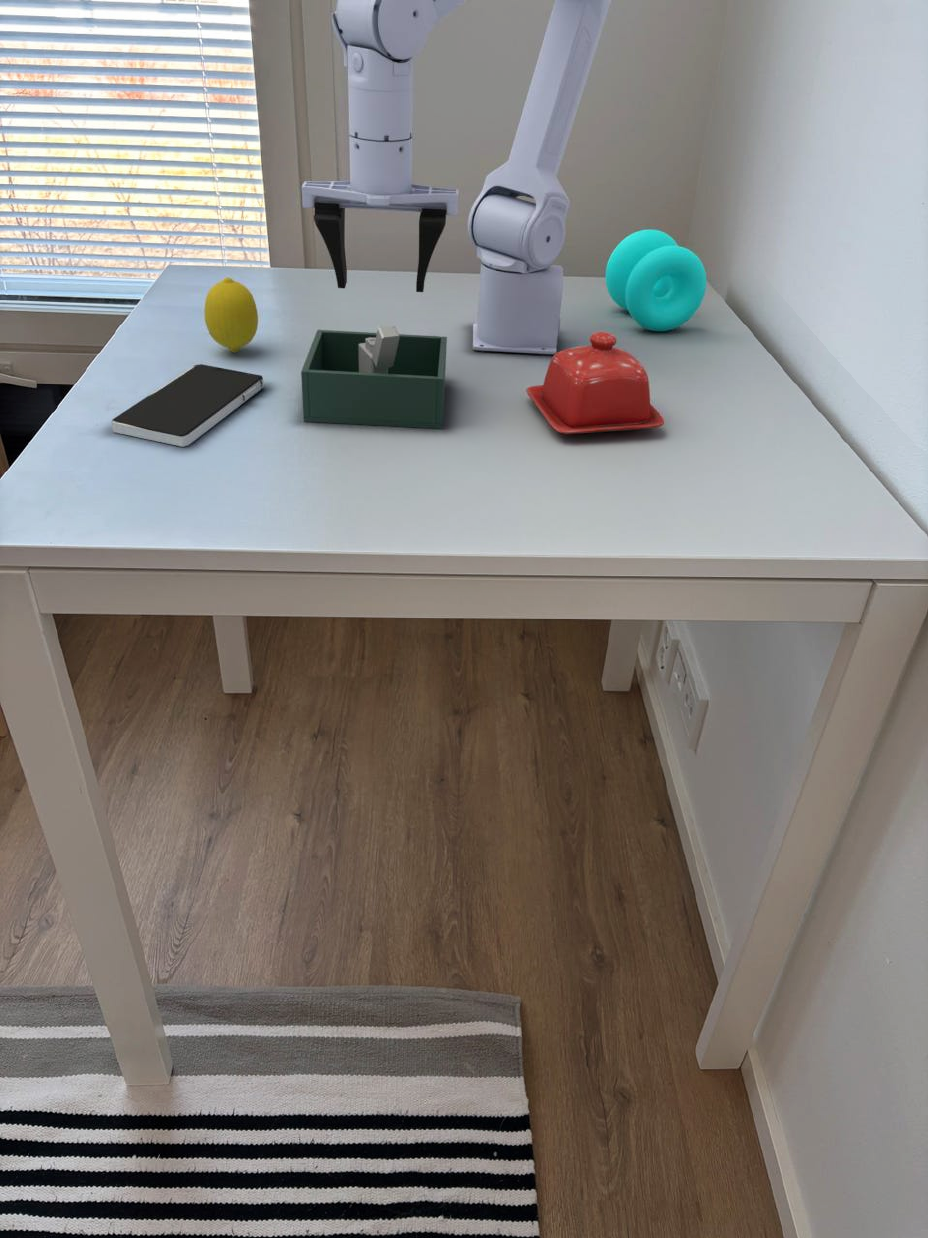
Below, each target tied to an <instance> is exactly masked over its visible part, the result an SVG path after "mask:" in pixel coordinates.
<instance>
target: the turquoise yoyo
mask: <svg viewBox="0 0 928 1238" xmlns="http://www.w3.org/2000/svg"><path fill="white" fill-rule="evenodd" d="M605 286H606V289H607V292H608V294H609V296H610V298H611V299H612V300H613V302H614V303H616V305H617V306H619V307H620V308H622V309H623V310H626V311H628V313H629V315H630V317H631V318H632V319H633V321H634V322H635V323H636V324H638V325H639V326H640V327H642V328H644V329H645V330H649V331H653V332H666V331H671V330H675V329H676V328H678V327H680V326H682V325H683V324H685V323H686V322H687V321H689V320H690V319H691V318H693V316H694V315H695V314H696V313H697V312H698V309H699V308H700V306H701V305H702V302H703V300H704V297H705V295H706V290H707V273H706V270H705V266H704V264H703V262H702V261H701V259H700V258H699V256H698V255H697V254H696V253H694V252H693V251H692V250H690V249H688V248H686V247H683V246H680V245H678V243H677V242H676V240H675V239H674V238H673V237H672V236H670V235H669V234H668V233H666V232H664V231H662V230H659V229H642V230H638V231H636V232H633V233H631V234H629V235H628V236H626V237H624V238H623V239H622V240H621V241H620V242H619V243H618V244H617V245H616V247H615V248H614V249H613V251H612V252H611V254H610V257H609V259H608V261H607V264H606V267H605Z"/></svg>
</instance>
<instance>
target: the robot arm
mask: <svg viewBox="0 0 928 1238" xmlns="http://www.w3.org/2000/svg"><path fill="white" fill-rule="evenodd" d="M468 1H469V0H337V1H336V8H335V11H334V12H331V15H330V16H331V24H332V29H333V32H334V34H335V37H336V39H337V41H338V42H339V44H340V45H341V49H342V51H343V66H344V67H345V68H346V72H347V91H348V96H347V97H348V134H349V136H348V137H349V180H336V181H335V180H332V181H308V180H307V181H306V180H305V181H304V182H303V183H302V185H301V198H302V199H301V200H302V208H303V209H314V214H313V220H314V223H315V226H316V228H317V230H318V232H319V234H320V236H321V237H322V240H323V242H324V244H325V247H326V249H327V252H328V254H329V257H330V259H331V263H332V266H333V269H334V275H335V278H336V283H337V288H338V289H346V286H347V283H348V268H347V267H348V266H347V257H346V256H347V255H346V249H345V248H346V244H345V243H346V239H345V238H346V237H345V235H346V234H345V233H346V231H345V229H346V227H345V225H346V209H354V210H355V209H357V210H376V211H396V212H397V211H398V212H414V213H415V212H416V213H420V215H419V219H418V264H417V273H416V281H415V284H416V285H415V287H416V288H415V292H416V293H424V291H425V282H426V276H427V273H428V268H429V266H430V263H431V259H432V256H433V253H434V251H435V248H436V247H437V244H438V242H439V240H440V238H441V235H442V233H443V232H444V229H445V227H446V223H447V216H454V217H457V216H458V215H459V193H460V192H459V191H460V190H459V189H457V188H446V187H435V186H429V185H424V184H423V185H422V184H415V183H413V122H414V121H413V117H414V116H413V115H414V62H415V61H414V60H415V59H414V57H415V56H419V55H420V53H421V52H422V51H423V49H424V48H425V45H426V43H427V41H428V38H429V34H430V31H431V29H432V28H433V27H434V26H436V25H437V24H438V23H440V21H443V20H444V18H446V17H448V16H449V15H450V14H451V13H453V12H454V11H456V10H457V9H458V8H460V7H461V6H463V5H464V4H465V3H466V2H467V3H468ZM611 4H612V0H554V3H553V7H552V10H551V14H550V17H549V21H548V24H547V27H546V30H545V33H544V34H545V35H544V37H543V41H542V44H541V48H540V51H539V55H538V57H537V61H536V65H535V68H534V71H533V75H532V78H531V82H530V85H529V88H528V93H527V96H526V100H525V102H524V105H523V106H524V107H523V109H522V114H521V115H520V119H519V123H518V126H517V129H516V133H515V136H514V140H513V143H512V147H511V150H510V153H509V157H508V160H507V161H506V162H504V163H503V164H502V165H500V166H499V167H497V168H495V169H494V170H493V171H491V172H490V173H489V174H487V175H486V177H485V180H484V184H483V187H482V189H481V192H480V193H479V195H478V196H477V198H476V199H475V201H474V202H473V204H472V206H471V208H470V210H469V214H468V219H467V235H468V239H469V240H470V242H471V244H472V245H473V246H474V247H475V248H476V258H477V259H480V270H479V271H480V274H479V286H478V287H479V288H478V303H477V304H478V305H477V321H476V322H474V323H473V324H472V349H473V350H474V351H481V352H482V351H484V352H500V353H501V352H502V353H517V354H520V353H521V354H538V355H555V354H556V353H557V352H558V351H557V346H558V337H559V336H558V335H559V333H560V330H561V309H562V302H563V301H562V300H563V288H564V270H563V266H561V265H557V264H552V263H553V262H554V261H556V259H557V257H558V256H559V254H560V252H561V251H562V249H563V246H564V243H565V239H566V222H567V216H568V212H569V209H570V206H571V201H570V199H569V197H568V195H567V192H566V191H565V190H564V188H563V187H562V185H561V183H560V181H559V179H558V177H557V176H558V174H559V169H560V167H561V163H562V160H563V157H564V154H565V151H566V147H567V145H568V142H569V138H570V135H571V132H572V128H573V125H574V122H575V118H576V116H577V112H578V109H579V106H580V104H581V103H580V102H581V100H582V97H583V93H584V90H585V87H586V83H587V80H588V77H589V74H590V70H591V67H592V64H593V61H594V58H595V55H596V51H597V47H598V45H599V42H600V38H601V36H602V35H601V34H602V32H603V29H604V26H605V22H606V19H607V16H608V13H609V10H610V6H611ZM518 197H526V198H530V199H533V200H534V202H532V201H528V200H525V199H521V198H518Z"/></svg>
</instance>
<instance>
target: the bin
mask: <svg viewBox="0 0 928 1238" xmlns="http://www.w3.org/2000/svg"><path fill="white" fill-rule="evenodd" d="M398 334H399V336H400V338H399V343H398V347H397V351H396V356H395V360H394V364H393V366H392V367H388V374H380V373H361V372H359V344H360V343H365V339H366V338H369V337H370V338H376V335H377V332H368V331H367V332H366V331H347V330H332V329H331V330H330V329H329V330H328V329H317V330H316V332H315V335H314V338H313V340H312V342H311V345H310V348H309V351H308V352H307V356H306V359H305V361H304V364H303V366H302V368H301V371H300V376H301V396H302V414H303V418H302V419H303V422H305V423H307V422H308V423H325V424H342V425H345V424H346V425H360V426H361V425H363V426H382V427H402V428H420V429H438V430H443V418H444V417H443V416H444V402H445V389H446V369H447V368H446V367H447V366H446V365H447V347H448V346H447V344H448V337H447V336H439V335H438V336H437V335H421V334H403V333H398Z"/></svg>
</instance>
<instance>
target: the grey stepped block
mask: <svg viewBox="0 0 928 1238" xmlns="http://www.w3.org/2000/svg"><path fill="white" fill-rule="evenodd" d="M376 333H377V335H376V338H370V337H369V338H366V339H365V343H360V344H359V372H361V373H380V374H388V367H392V366H393V364H394V360H395V356H396V351H397V347H398V343H399V338H400V336H399V334H400V333H399V331H398V330H397V326H396V325H384V326H383V325H382V326H379V327H378V328H377V330H376Z"/></svg>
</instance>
